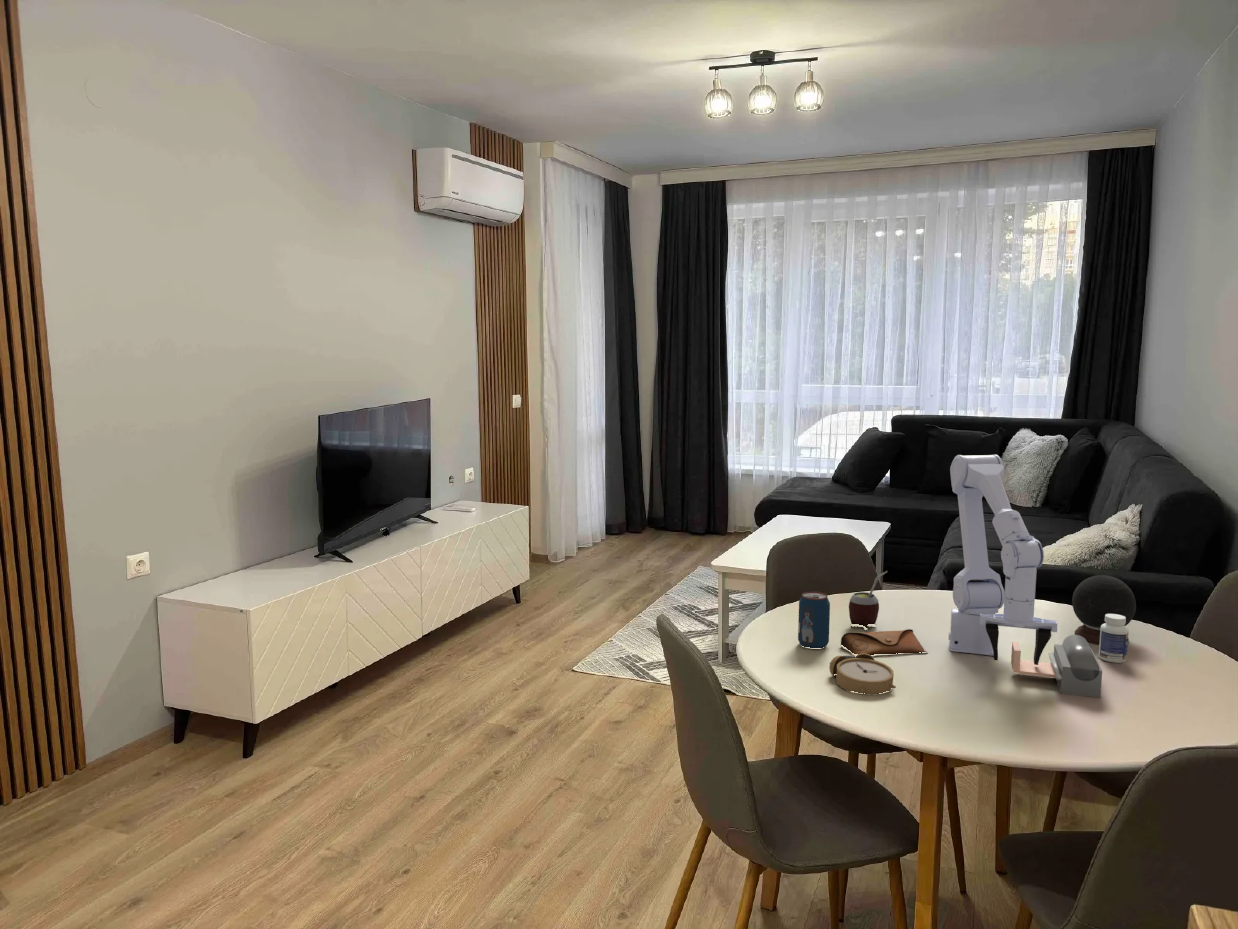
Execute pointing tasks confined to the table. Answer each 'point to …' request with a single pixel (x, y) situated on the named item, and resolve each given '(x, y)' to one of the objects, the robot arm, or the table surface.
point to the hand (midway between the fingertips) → (1015, 661)
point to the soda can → (814, 620)
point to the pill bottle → (1113, 639)
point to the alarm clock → (862, 674)
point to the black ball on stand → (1101, 604)
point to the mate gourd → (864, 606)
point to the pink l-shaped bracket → (1029, 664)
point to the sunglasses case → (882, 642)
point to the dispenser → (1076, 667)
